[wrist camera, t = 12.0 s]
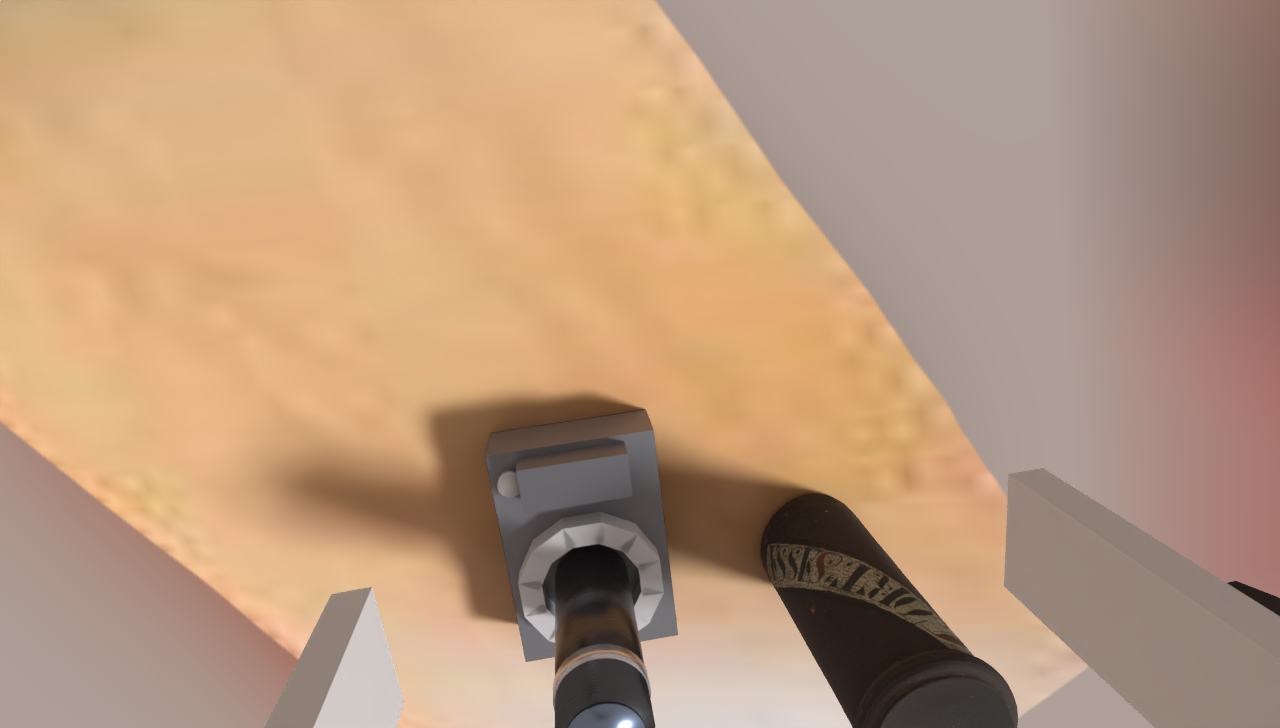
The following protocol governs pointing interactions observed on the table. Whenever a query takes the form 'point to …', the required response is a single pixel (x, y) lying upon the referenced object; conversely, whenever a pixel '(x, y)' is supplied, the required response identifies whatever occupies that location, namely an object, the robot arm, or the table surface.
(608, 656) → the lens
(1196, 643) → the robot arm
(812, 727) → the table surface
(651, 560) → the camera body
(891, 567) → the container
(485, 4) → the table surface
